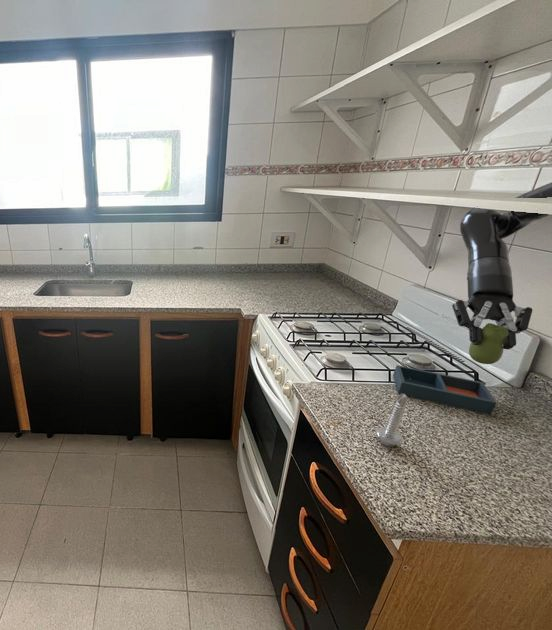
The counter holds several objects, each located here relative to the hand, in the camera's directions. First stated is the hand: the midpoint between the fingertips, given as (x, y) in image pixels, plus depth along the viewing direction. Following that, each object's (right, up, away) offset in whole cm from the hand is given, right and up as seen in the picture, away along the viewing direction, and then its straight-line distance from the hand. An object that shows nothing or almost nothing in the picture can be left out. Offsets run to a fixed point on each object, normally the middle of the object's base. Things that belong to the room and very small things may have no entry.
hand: (492, 345), depth 78 cm
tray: (-1, -14, +12) cm, 19 cm away
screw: (-27, -21, -3) cm, 34 cm away
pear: (+1, -4, +4) cm, 6 cm away
